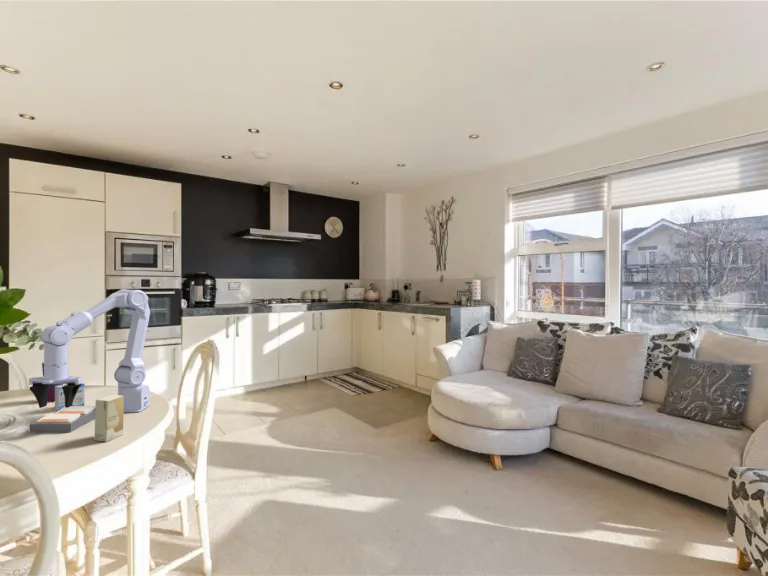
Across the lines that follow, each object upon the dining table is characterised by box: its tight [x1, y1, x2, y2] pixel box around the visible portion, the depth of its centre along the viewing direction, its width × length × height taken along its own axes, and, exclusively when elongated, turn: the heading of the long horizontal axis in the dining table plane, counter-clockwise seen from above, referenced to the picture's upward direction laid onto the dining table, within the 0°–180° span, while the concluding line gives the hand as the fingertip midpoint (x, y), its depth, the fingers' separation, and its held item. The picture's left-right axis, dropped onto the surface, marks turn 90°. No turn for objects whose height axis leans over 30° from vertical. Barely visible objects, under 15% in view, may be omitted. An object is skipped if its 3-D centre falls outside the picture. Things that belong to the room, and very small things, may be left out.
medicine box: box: [54, 382, 86, 412], centre depth 143 cm, size 8×4×9 cm, turn 143°
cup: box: [41, 361, 64, 403], centre depth 151 cm, size 7×7×15 cm
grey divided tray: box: [28, 409, 95, 434], centre depth 129 cm, size 12×15×3 cm
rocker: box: [36, 413, 80, 423], centre depth 125 cm, size 10×5×1 cm, turn 95°
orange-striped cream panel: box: [54, 405, 95, 415], centre depth 132 cm, size 10×5×1 cm, turn 95°
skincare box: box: [94, 394, 125, 443], centre depth 118 cm, size 6×4×12 cm
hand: (56, 406), depth 123 cm, fingers open, 7 cm apart
